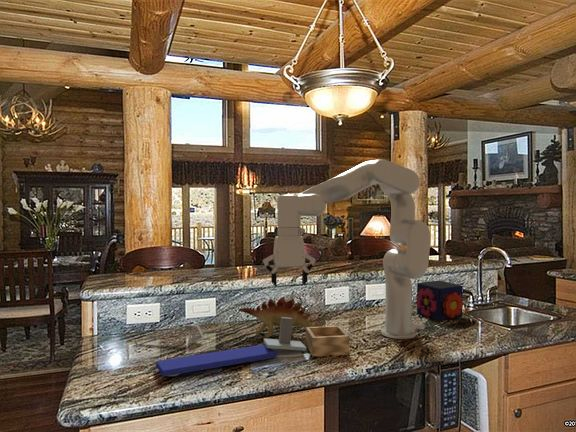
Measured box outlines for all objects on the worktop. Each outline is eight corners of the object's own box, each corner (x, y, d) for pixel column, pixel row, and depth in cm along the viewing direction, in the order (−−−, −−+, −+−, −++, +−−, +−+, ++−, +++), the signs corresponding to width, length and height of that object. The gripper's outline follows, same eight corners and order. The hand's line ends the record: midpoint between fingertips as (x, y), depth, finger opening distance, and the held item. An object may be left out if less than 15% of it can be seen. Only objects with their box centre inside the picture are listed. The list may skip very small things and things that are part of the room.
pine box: (339, 342, 153) (339, 325, 153) (349, 354, 141) (349, 336, 141) (305, 344, 151) (305, 327, 151) (312, 356, 139) (312, 337, 139)
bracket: (203, 338, 152) (189, 313, 151) (146, 367, 150) (133, 342, 150) (204, 335, 155) (190, 310, 154) (149, 364, 154) (135, 339, 153)
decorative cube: (440, 322, 178) (440, 288, 178) (412, 313, 193) (412, 281, 193) (467, 318, 185) (468, 285, 185) (439, 309, 200) (439, 279, 199)
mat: (297, 345, 150) (297, 344, 150) (302, 356, 140) (302, 354, 140) (268, 347, 148) (268, 345, 148) (271, 357, 138) (271, 355, 138)
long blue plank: (156, 371, 129) (163, 380, 120) (155, 360, 129) (162, 368, 120) (264, 351, 145) (277, 357, 136) (263, 341, 145) (276, 347, 136)
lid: (299, 343, 150) (301, 317, 152) (306, 350, 138) (308, 321, 139) (263, 341, 149) (266, 314, 150) (267, 348, 137) (269, 318, 138)
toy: (322, 349, 155) (327, 307, 155) (235, 333, 161) (240, 293, 161) (325, 342, 164) (330, 302, 163) (242, 327, 170) (247, 288, 169)
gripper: (312, 231, 148) (313, 281, 149) (261, 232, 145) (262, 283, 146) (317, 232, 140) (317, 286, 141) (263, 233, 138) (264, 288, 139)
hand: (289, 284), depth 144 cm, fingers open, 9 cm apart
